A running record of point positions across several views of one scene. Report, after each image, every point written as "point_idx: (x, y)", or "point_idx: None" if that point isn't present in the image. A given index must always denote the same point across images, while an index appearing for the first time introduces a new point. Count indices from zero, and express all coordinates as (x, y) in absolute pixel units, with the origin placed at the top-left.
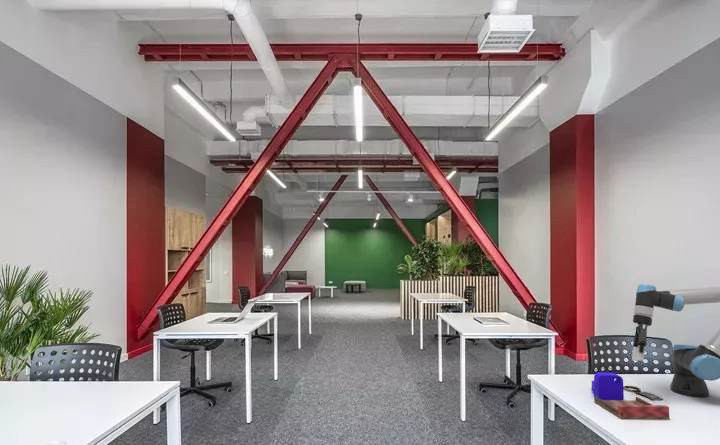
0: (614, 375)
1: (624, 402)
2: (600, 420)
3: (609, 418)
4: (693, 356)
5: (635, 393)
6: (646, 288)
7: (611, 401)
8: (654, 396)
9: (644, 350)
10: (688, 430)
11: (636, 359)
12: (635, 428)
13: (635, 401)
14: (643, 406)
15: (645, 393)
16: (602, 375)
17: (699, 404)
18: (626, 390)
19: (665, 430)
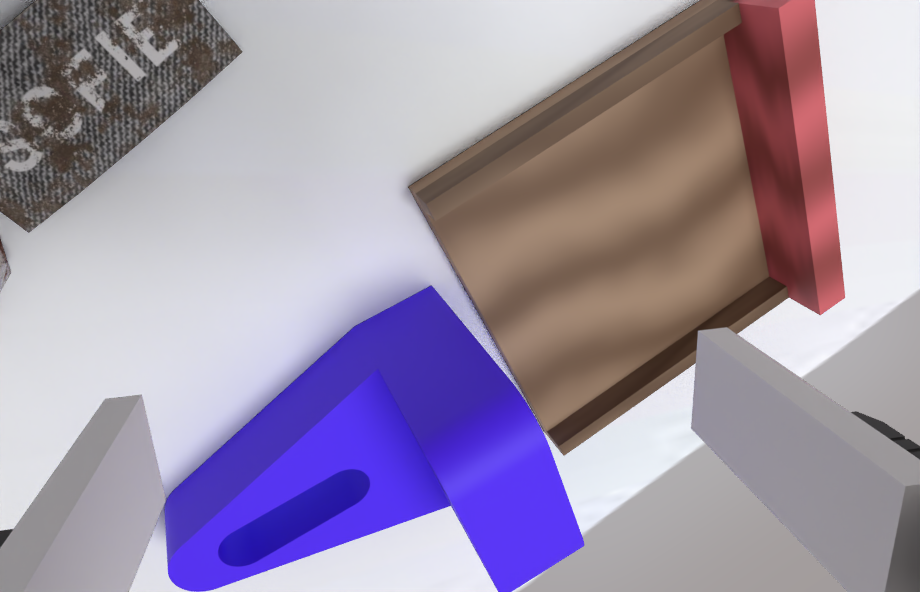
0: (554, 472)
1: (523, 281)
2: (814, 342)
3: (783, 314)
4: None
5: (47, 215)
6: None
7: (537, 355)
8: (118, 22)
9: (868, 427)
10: None
11: (138, 447)
12: (888, 192)
13: (456, 210)
14: (827, 174)
15: (44, 117)
16: (582, 538)
17: None
18: None
19: (902, 40)
